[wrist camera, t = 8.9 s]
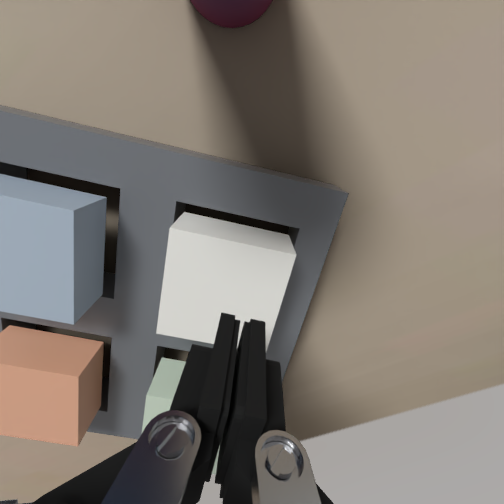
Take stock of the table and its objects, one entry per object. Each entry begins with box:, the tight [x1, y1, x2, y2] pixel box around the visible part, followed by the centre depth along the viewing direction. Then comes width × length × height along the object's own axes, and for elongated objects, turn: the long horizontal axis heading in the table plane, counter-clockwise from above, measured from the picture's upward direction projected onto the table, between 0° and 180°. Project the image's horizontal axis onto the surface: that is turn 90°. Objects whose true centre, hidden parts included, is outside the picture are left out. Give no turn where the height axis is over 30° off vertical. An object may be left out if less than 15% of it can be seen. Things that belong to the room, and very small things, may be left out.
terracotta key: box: [0, 325, 104, 446], centre depth 19 cm, size 6×6×3 cm
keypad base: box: [0, 105, 349, 439], centre depth 20 cm, size 21×22×3 cm
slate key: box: [0, 174, 107, 325], centre depth 14 cm, size 6×6×3 cm
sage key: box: [142, 358, 220, 474], centre depth 19 cm, size 6×6×3 cm
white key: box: [156, 212, 296, 352], centre depth 16 cm, size 6×6×3 cm
